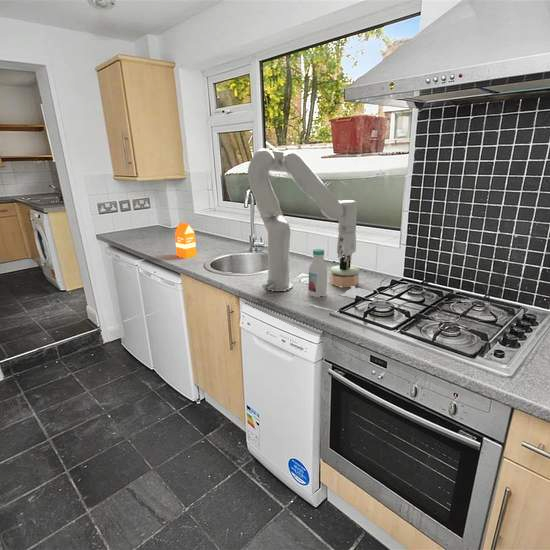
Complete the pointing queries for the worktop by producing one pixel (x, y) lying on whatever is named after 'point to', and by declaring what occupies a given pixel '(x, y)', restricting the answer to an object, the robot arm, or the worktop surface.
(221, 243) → the worktop surface
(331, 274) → the bowl
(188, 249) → the orange juice
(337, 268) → the lid
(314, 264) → the milk bottle
